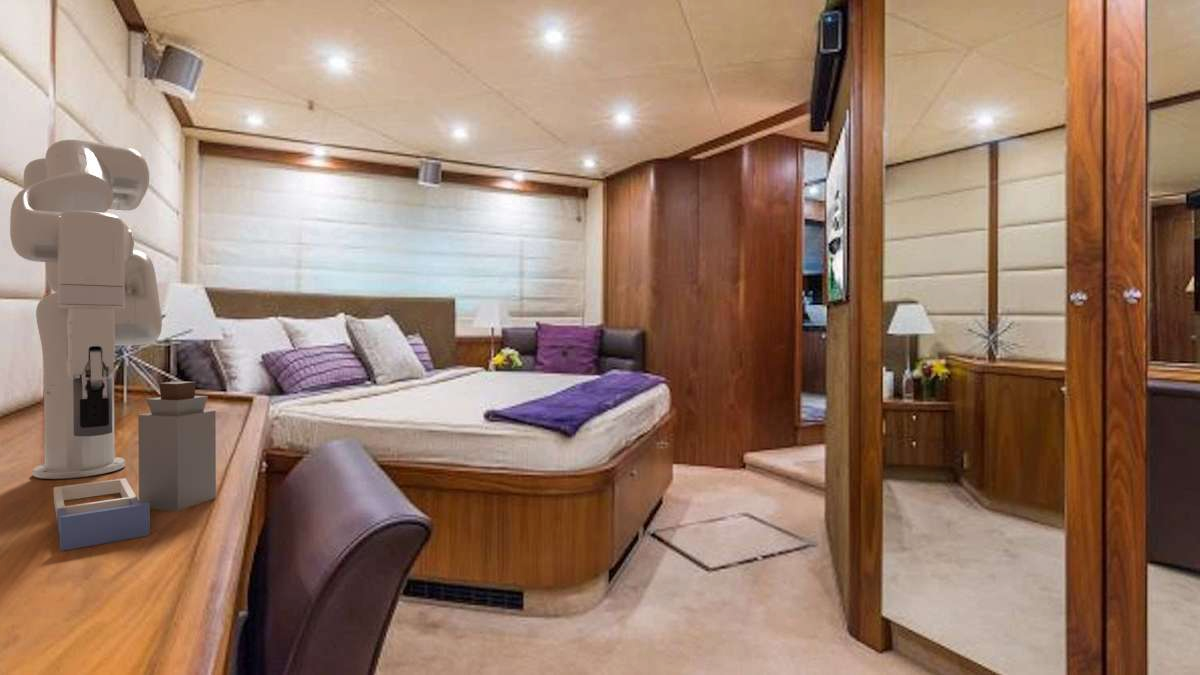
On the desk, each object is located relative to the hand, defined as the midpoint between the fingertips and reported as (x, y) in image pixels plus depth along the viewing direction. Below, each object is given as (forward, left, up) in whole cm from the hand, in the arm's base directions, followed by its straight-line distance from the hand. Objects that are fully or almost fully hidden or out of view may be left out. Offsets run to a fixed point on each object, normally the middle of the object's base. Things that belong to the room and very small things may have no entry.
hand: (93, 422), depth 92 cm
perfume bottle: (+6, +10, -12) cm, 17 cm away
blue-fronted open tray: (+7, 0, -12) cm, 14 cm away
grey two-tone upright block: (0, 0, -2) cm, 2 cm away
